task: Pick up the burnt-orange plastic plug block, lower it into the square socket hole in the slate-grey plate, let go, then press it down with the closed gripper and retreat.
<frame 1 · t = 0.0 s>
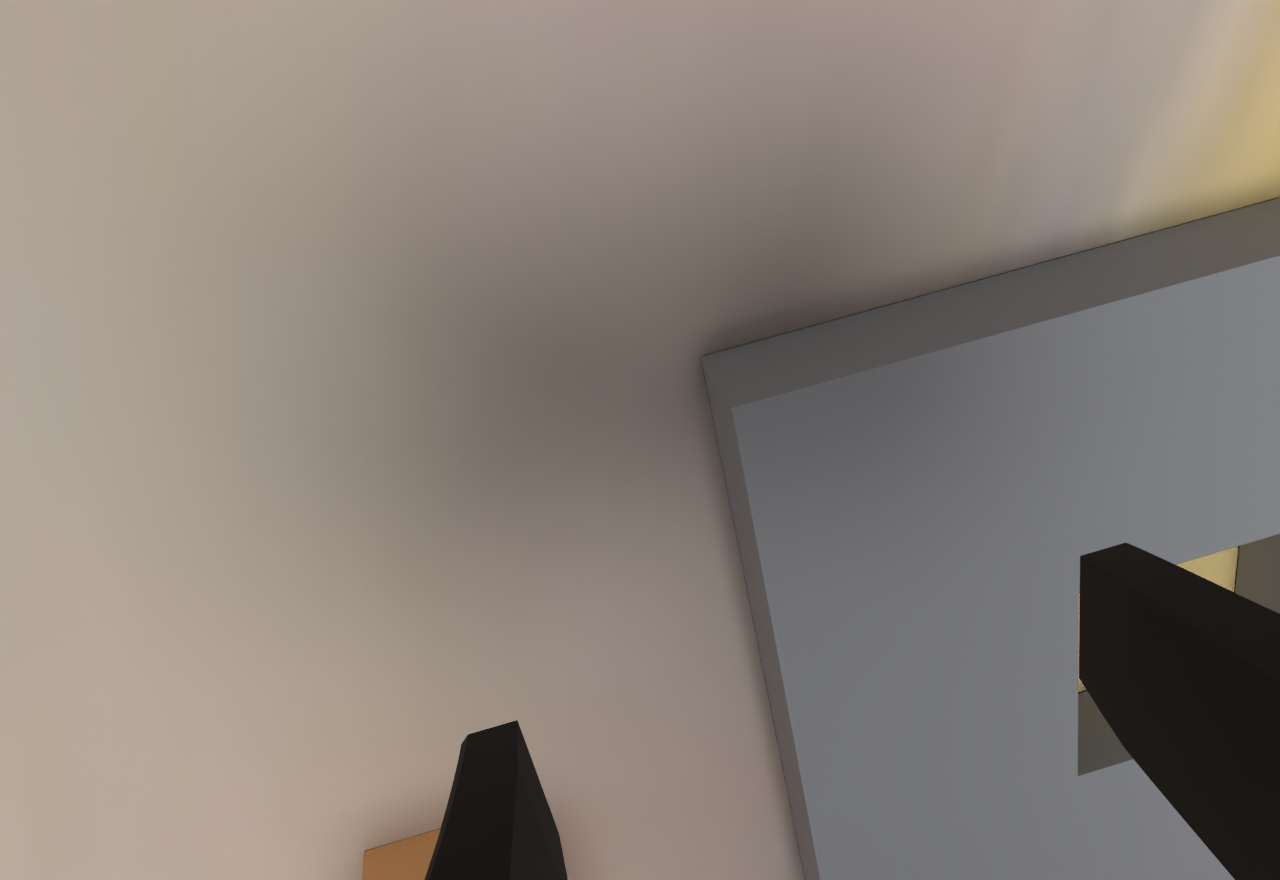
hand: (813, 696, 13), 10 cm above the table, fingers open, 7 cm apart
socket plate: (1132, 594, 27), on the table
plug: (462, 878, 27), on the table
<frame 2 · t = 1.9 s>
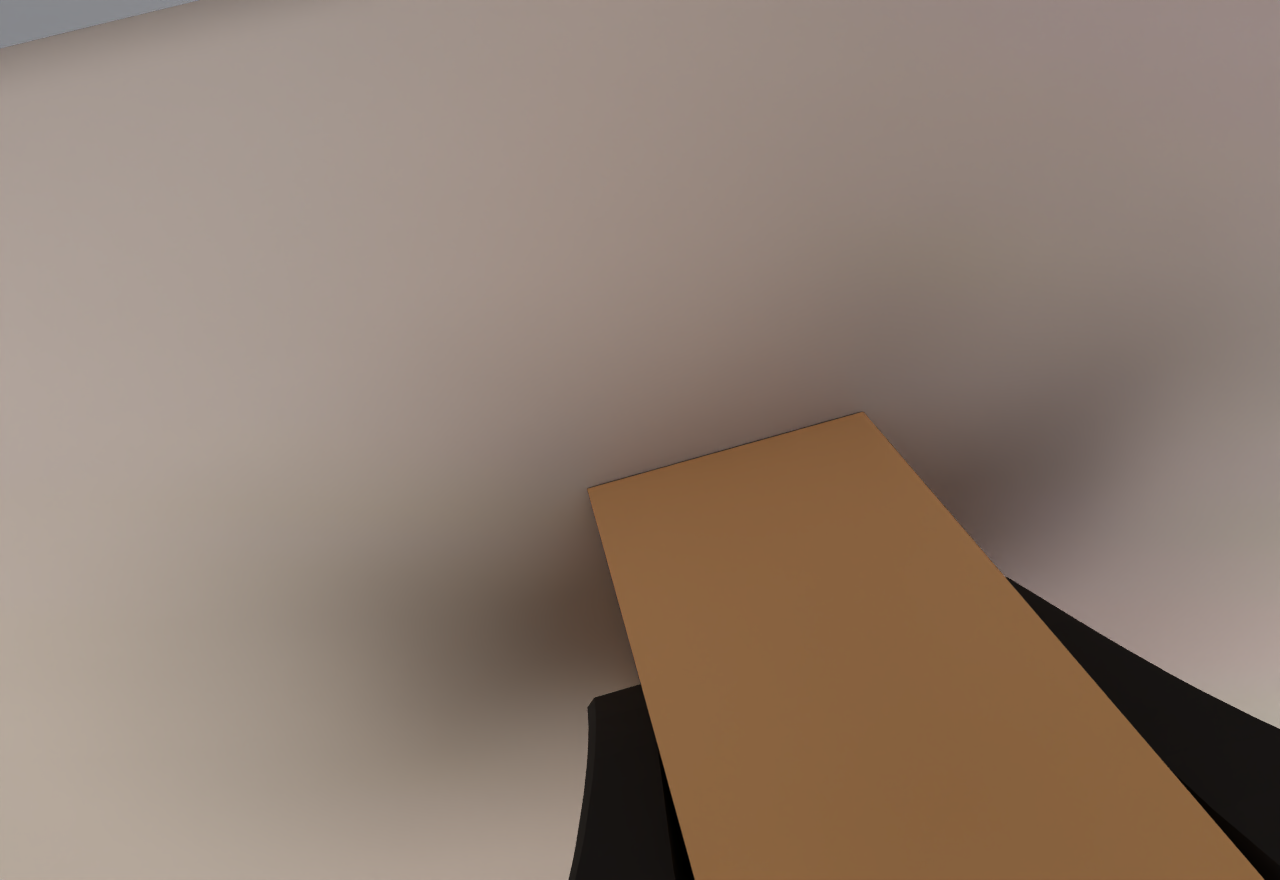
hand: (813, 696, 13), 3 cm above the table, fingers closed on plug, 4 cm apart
plug: (748, 563, 15), on the table, touching gripper
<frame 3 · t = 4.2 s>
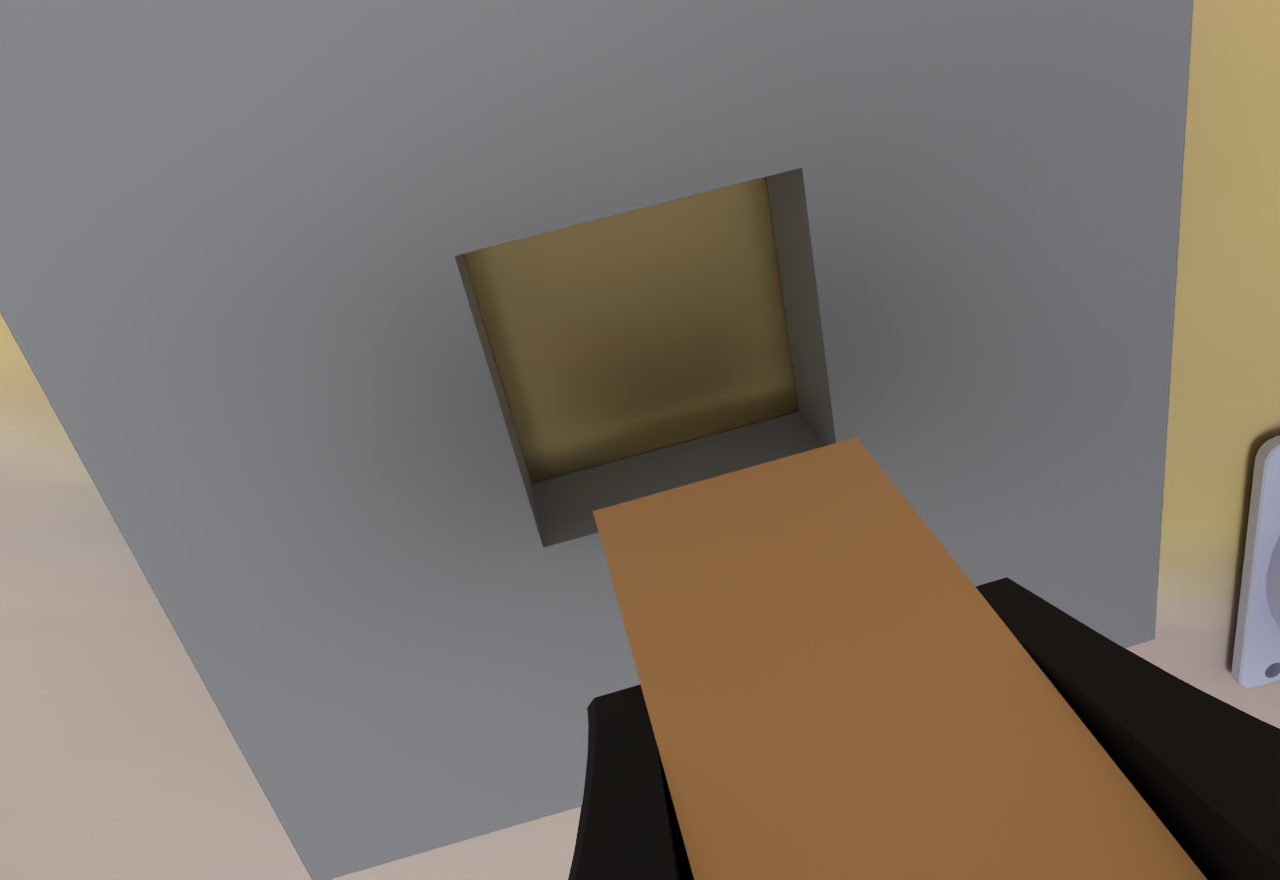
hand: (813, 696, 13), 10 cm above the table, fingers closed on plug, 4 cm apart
socket plate: (639, 321, 21), on the table
plug: (746, 580, 16), point 7 cm above the table, touching gripper
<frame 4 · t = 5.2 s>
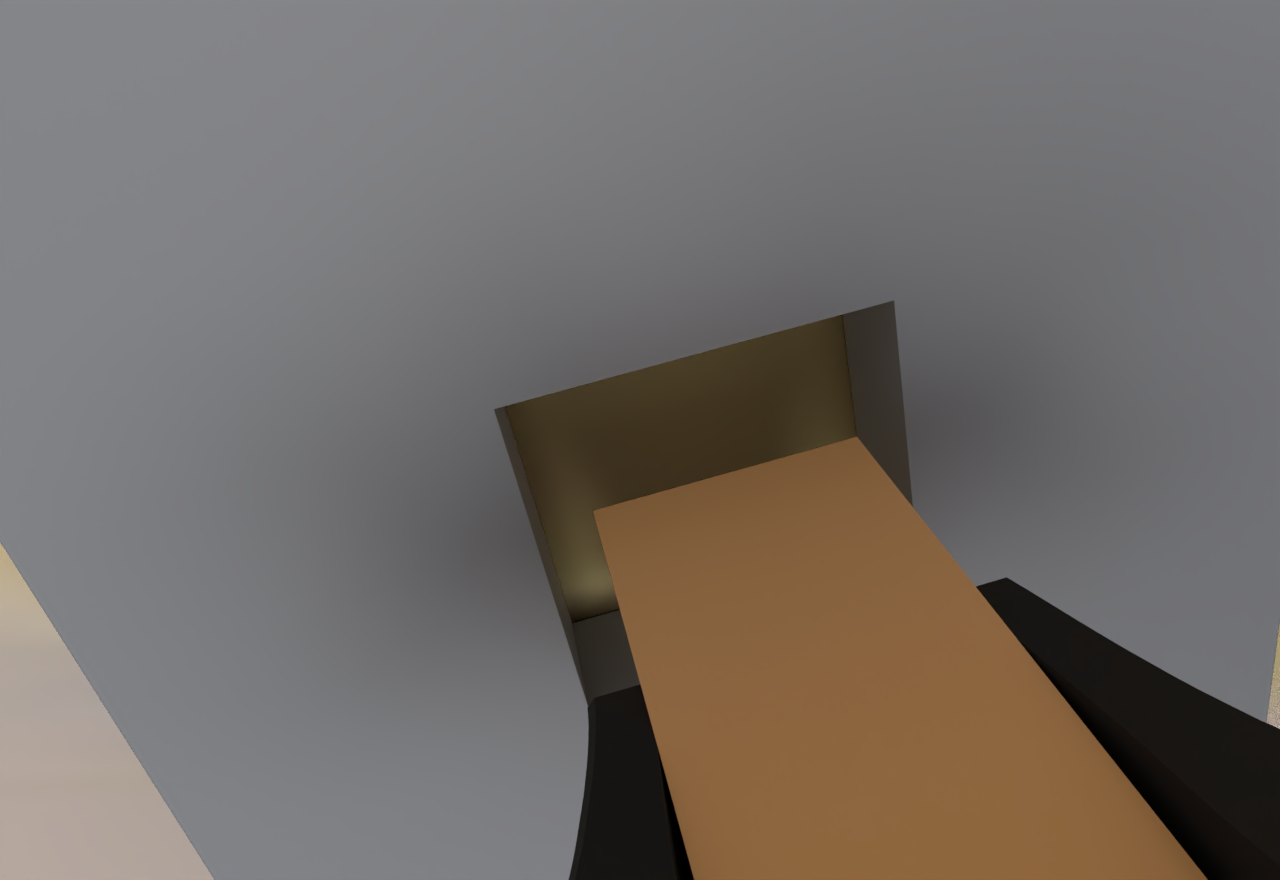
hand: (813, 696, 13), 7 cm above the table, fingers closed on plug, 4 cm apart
socket plate: (694, 449, 18), on the table
plug: (746, 580, 16), point 3 cm above the table, touching gripper
when the fingers open (4 cm above the table, at t = 6.2 s): plug stays where it is, resting in socket plate.
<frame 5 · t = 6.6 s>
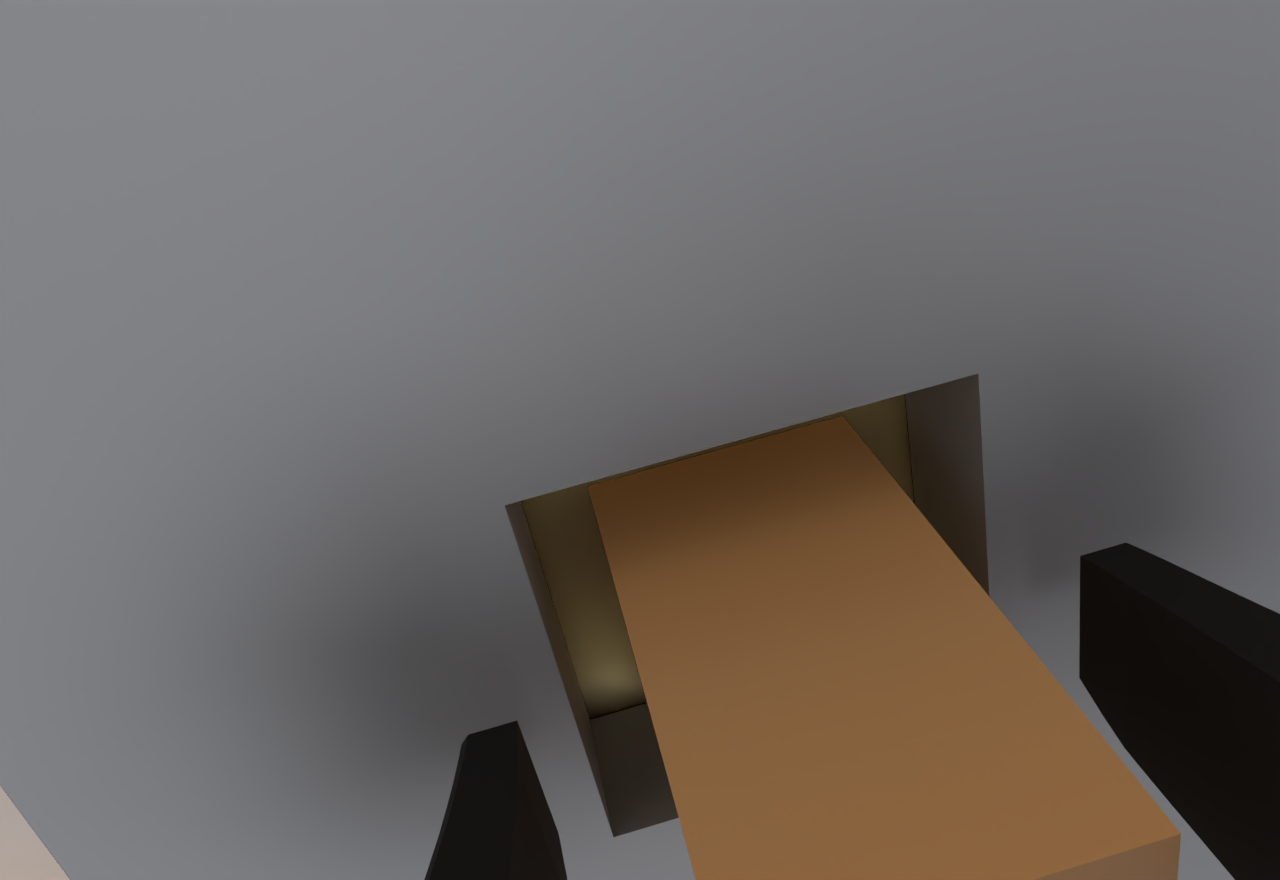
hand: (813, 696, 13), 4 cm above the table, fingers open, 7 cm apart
socket plate: (731, 528, 16), on the table
plug: (737, 556, 16), resting in socket plate
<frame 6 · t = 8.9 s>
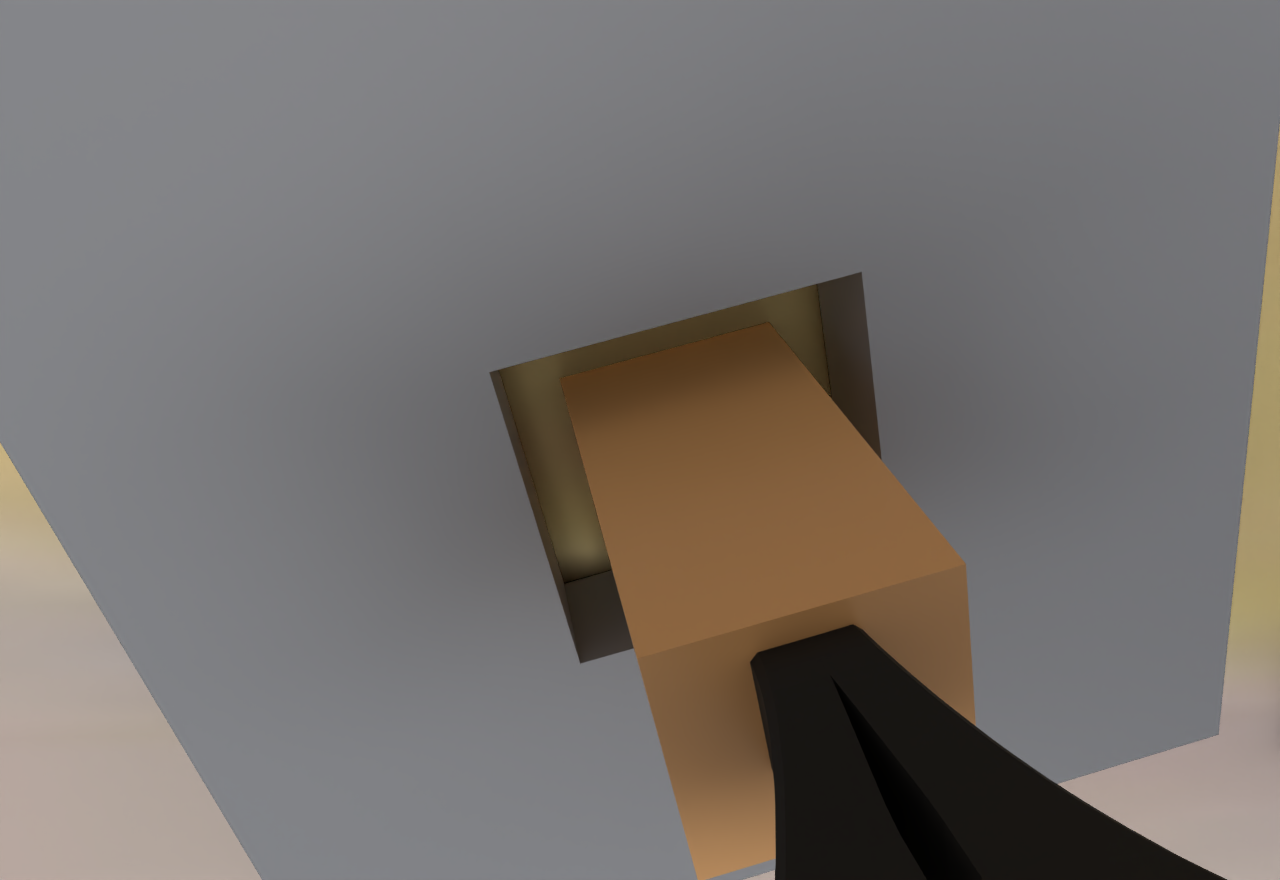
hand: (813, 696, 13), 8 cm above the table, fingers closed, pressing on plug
socket plate: (678, 417, 20), on the table
plug: (684, 441, 20), resting in socket plate, touching gripper
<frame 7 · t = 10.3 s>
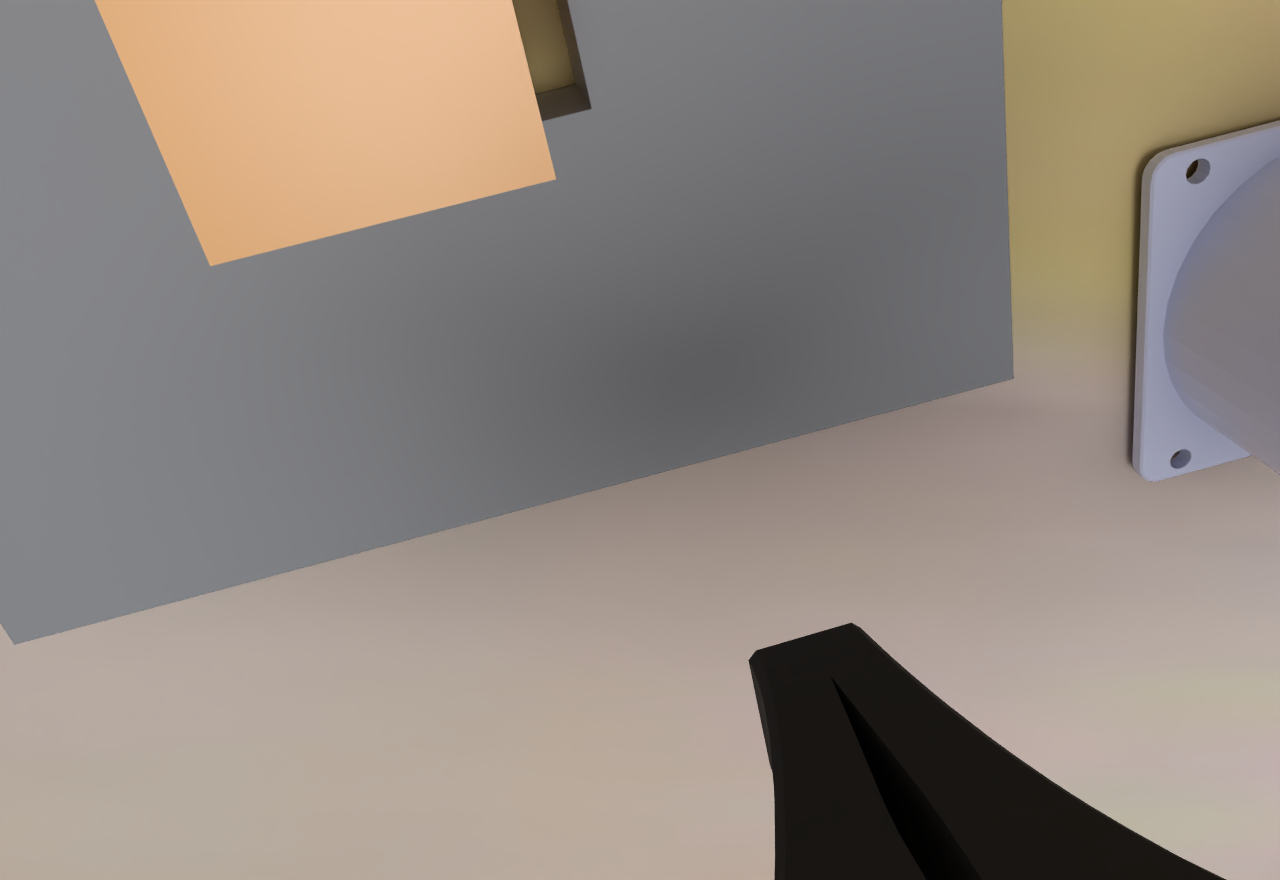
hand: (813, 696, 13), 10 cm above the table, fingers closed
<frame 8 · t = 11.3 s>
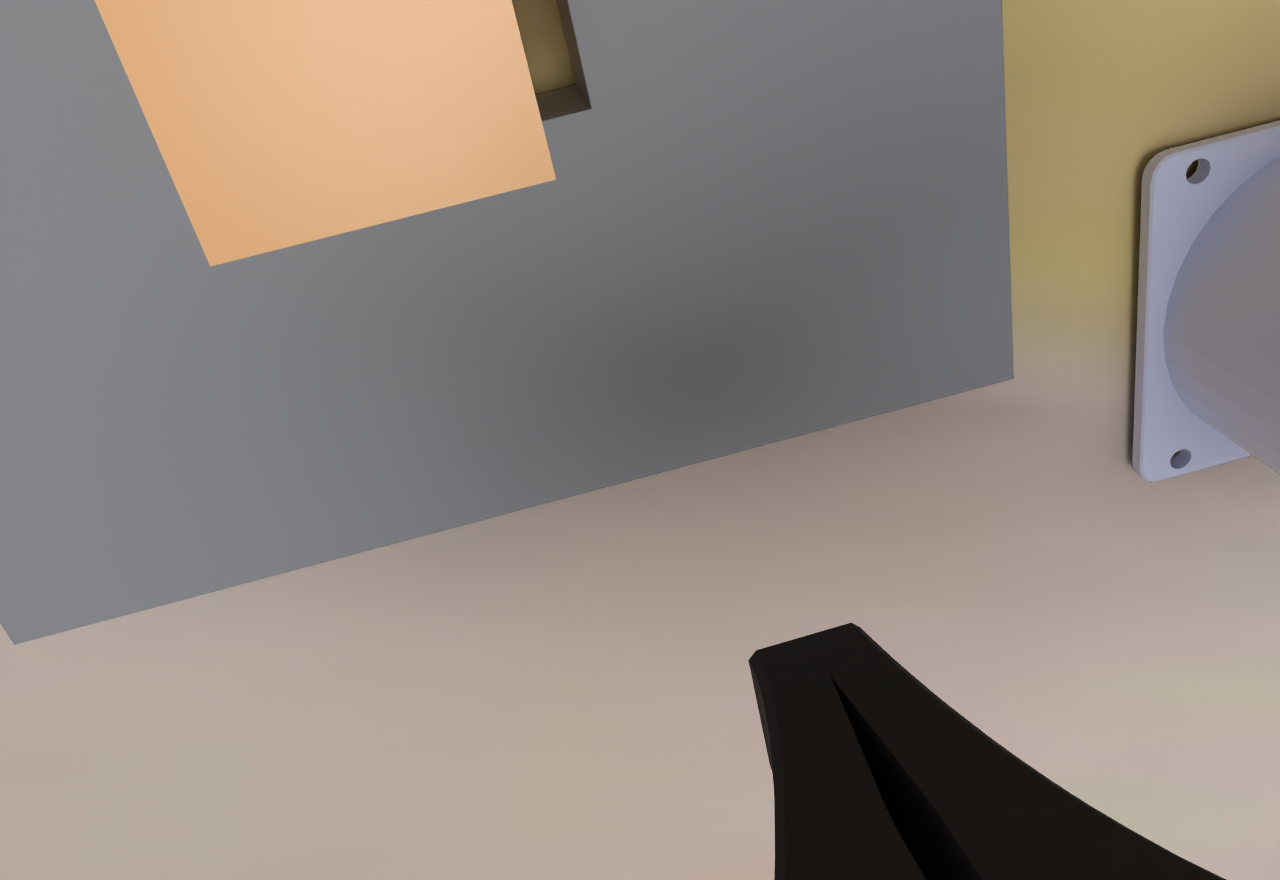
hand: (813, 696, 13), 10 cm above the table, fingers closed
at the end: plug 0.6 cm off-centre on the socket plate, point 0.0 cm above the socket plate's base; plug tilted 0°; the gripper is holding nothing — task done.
